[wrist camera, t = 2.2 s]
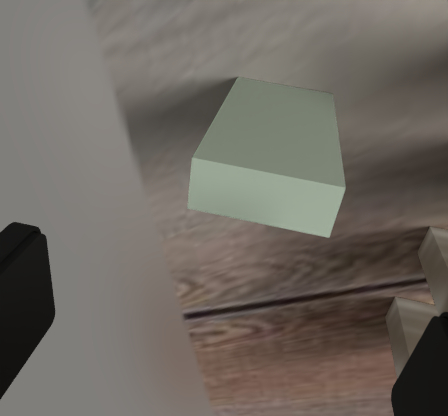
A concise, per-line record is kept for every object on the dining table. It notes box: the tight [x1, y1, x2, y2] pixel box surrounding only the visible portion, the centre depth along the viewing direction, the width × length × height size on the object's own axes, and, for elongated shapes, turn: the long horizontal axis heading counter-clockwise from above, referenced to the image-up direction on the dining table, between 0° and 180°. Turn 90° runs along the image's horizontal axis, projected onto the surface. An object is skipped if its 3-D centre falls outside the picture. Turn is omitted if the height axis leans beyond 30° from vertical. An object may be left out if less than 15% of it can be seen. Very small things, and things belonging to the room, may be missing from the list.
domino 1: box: [187, 77, 346, 238], centre depth 18 cm, size 2×5×10 cm, turn 83°
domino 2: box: [385, 297, 439, 379], centre depth 24 cm, size 2×5×10 cm, turn 83°
